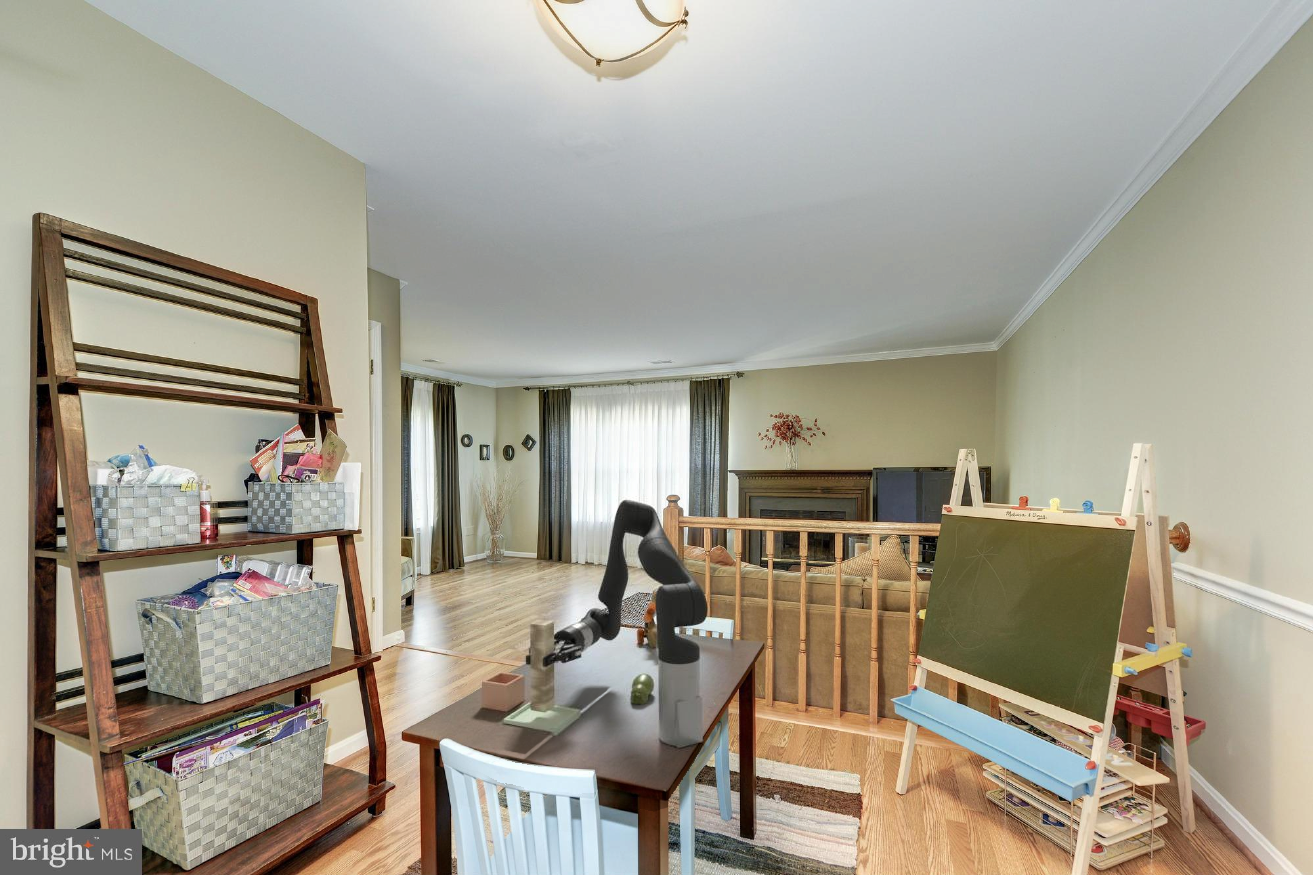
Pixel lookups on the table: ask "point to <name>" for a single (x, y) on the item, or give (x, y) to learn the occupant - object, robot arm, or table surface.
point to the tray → (544, 718)
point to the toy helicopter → (649, 627)
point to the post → (541, 665)
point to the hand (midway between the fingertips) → (535, 661)
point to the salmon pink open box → (503, 691)
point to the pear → (641, 689)
